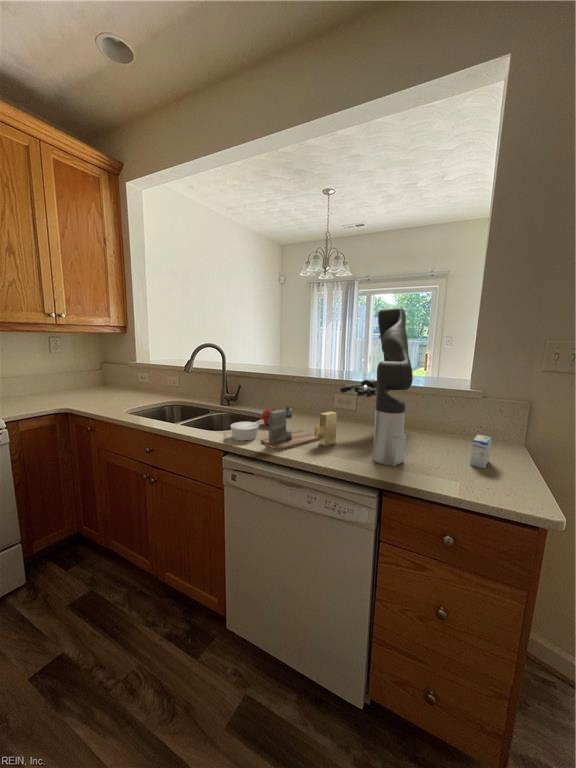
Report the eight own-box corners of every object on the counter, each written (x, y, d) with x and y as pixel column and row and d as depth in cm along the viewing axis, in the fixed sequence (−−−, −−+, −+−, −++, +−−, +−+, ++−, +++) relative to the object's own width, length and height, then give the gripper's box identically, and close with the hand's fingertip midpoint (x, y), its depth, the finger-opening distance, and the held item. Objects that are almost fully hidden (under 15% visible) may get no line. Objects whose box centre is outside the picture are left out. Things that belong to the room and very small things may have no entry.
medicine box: (474, 458, 110) (476, 434, 109) (489, 461, 107) (492, 436, 106) (469, 465, 104) (472, 439, 103) (485, 468, 101) (488, 442, 100)
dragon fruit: (263, 425, 152) (281, 434, 144) (253, 418, 146) (272, 427, 138) (272, 410, 154) (290, 418, 146) (263, 402, 148) (281, 410, 140)
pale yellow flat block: (335, 442, 124) (337, 412, 122) (318, 448, 117) (319, 416, 116) (329, 440, 126) (330, 411, 124) (312, 446, 120) (313, 415, 118)
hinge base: (321, 439, 128) (322, 404, 126) (280, 451, 114) (280, 412, 112) (301, 432, 137) (301, 399, 135) (260, 442, 123) (260, 406, 121)
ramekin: (253, 443, 122) (253, 430, 121) (226, 441, 124) (226, 428, 124) (261, 434, 133) (261, 422, 132) (236, 432, 135) (236, 420, 134)
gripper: (359, 377, 143) (336, 380, 133) (387, 381, 133) (364, 384, 122) (358, 393, 144) (335, 398, 134) (386, 398, 134) (363, 403, 123)
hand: (349, 391), depth 128 cm, fingers open, 8 cm apart
